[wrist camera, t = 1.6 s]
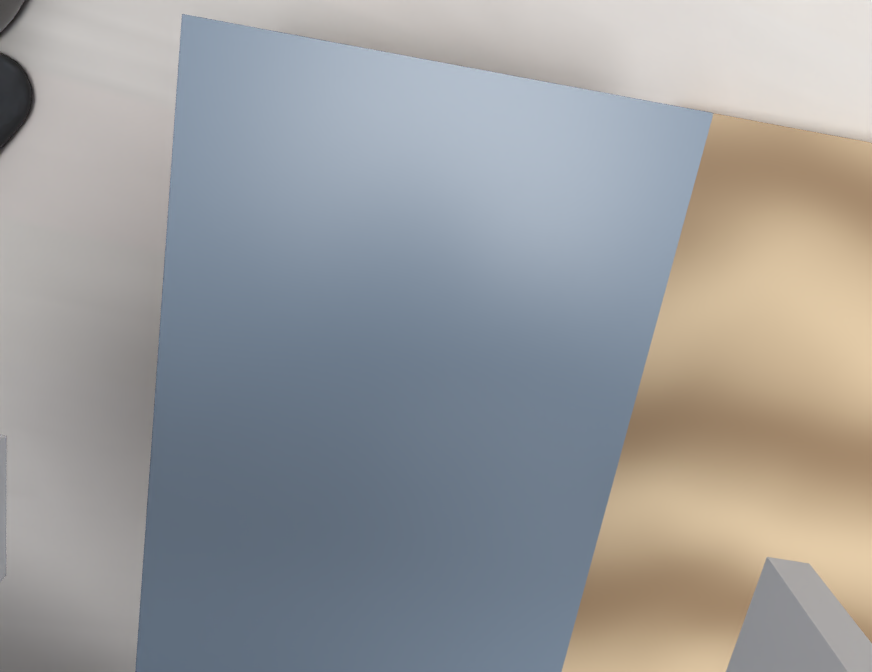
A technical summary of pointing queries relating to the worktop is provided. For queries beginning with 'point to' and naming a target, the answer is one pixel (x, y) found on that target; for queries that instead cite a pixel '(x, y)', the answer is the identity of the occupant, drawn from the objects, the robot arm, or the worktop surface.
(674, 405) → the oak cutting board
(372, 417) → the slate lid
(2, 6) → the supplement bottle
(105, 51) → the worktop surface
